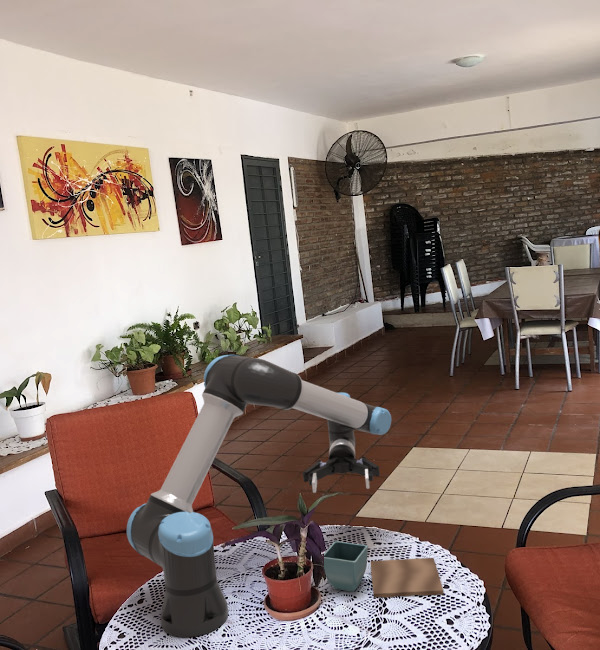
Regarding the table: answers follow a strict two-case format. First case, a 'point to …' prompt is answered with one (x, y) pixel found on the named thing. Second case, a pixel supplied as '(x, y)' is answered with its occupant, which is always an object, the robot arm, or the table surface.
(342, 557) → the flower pot
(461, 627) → the table surface
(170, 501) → the robot arm
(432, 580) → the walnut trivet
